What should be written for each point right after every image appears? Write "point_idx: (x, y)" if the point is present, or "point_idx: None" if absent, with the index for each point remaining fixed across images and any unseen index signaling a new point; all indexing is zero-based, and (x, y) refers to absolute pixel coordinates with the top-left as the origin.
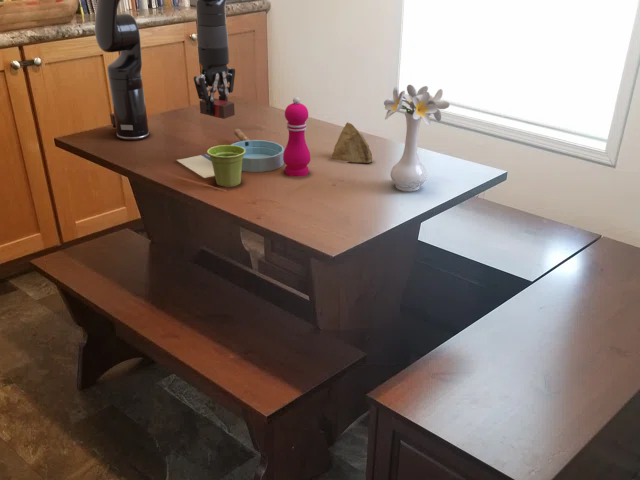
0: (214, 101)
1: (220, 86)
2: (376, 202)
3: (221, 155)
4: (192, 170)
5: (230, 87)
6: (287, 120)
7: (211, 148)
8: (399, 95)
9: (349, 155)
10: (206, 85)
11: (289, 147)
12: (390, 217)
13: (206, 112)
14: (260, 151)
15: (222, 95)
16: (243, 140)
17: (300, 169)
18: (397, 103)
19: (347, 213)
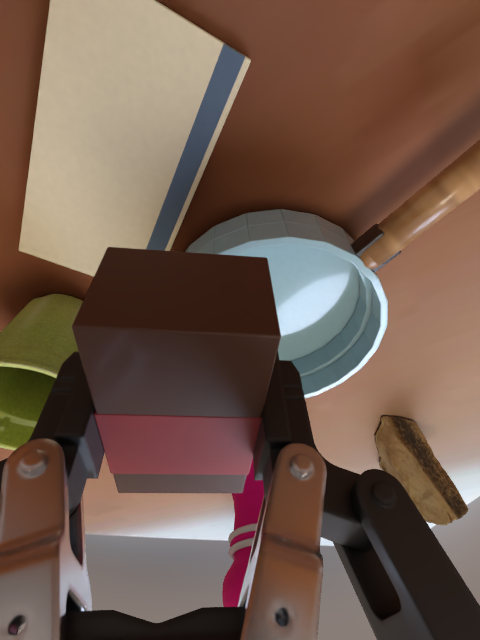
0: (171, 422)
1: (245, 585)
2: (199, 510)
3: (53, 351)
4: (30, 158)
5: (344, 566)
6: (234, 565)
7: None
8: None
9: (384, 456)
10: (32, 622)
11: None
12: (160, 528)
13: (69, 357)
14: (361, 281)
15: (267, 473)
16: (368, 244)
17: None
18: None
19: (130, 504)
